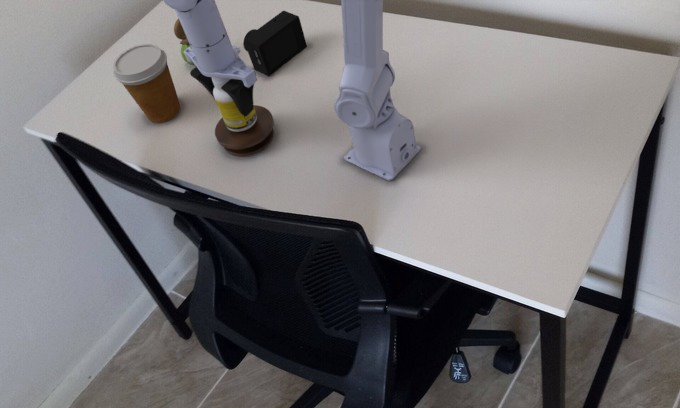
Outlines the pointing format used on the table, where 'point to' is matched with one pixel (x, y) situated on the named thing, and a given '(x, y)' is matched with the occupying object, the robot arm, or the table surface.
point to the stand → (247, 135)
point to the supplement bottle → (231, 108)
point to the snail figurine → (181, 35)
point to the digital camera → (275, 43)
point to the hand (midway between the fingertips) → (236, 106)
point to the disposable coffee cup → (148, 81)
